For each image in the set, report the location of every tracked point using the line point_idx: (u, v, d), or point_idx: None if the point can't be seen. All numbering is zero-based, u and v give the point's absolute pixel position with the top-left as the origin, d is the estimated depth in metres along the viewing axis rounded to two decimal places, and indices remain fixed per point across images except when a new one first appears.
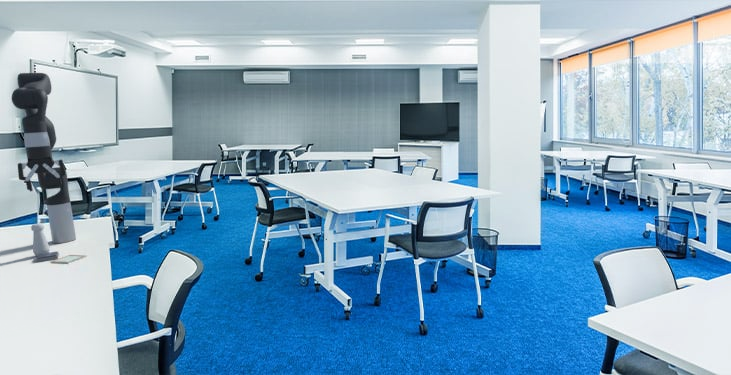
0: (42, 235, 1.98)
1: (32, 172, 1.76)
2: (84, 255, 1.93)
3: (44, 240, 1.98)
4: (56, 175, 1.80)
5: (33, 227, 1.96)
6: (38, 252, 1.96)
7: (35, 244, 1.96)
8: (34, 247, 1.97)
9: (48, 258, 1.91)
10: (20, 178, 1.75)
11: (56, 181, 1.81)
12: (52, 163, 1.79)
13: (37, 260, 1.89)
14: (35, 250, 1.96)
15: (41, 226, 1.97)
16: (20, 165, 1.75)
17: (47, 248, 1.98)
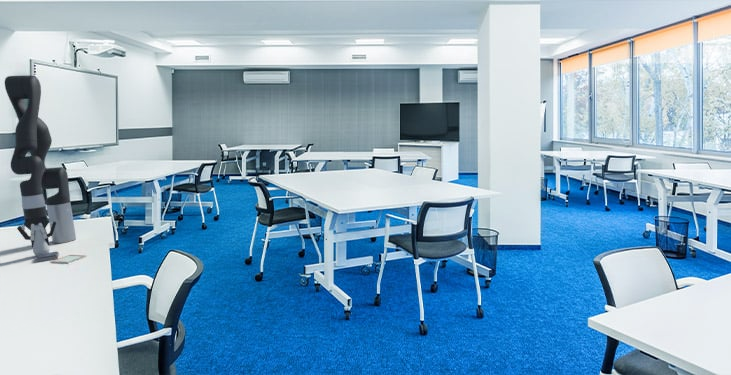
0: (42, 235, 1.98)
1: (32, 231, 1.96)
2: (84, 255, 1.93)
3: (44, 240, 1.98)
4: (44, 236, 1.98)
5: None
6: (38, 252, 1.96)
7: (35, 244, 1.96)
8: (34, 247, 1.97)
9: (48, 258, 1.91)
10: (26, 238, 1.95)
11: None
12: (47, 222, 1.98)
13: (37, 260, 1.89)
14: (35, 250, 1.96)
15: None
16: (19, 228, 1.94)
17: (47, 248, 1.98)
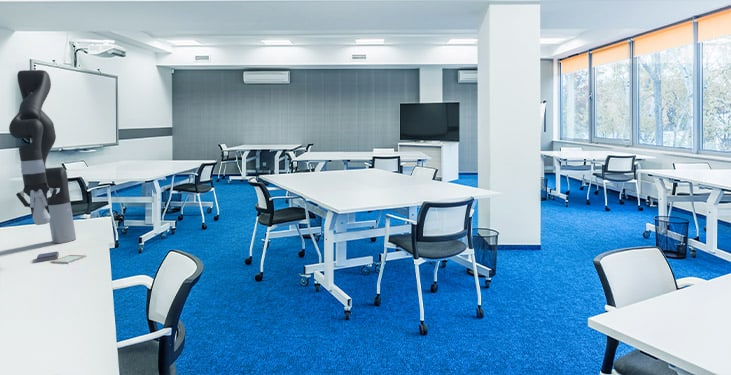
0: (42, 202, 1.90)
1: (32, 198, 1.88)
2: (84, 255, 1.93)
3: (44, 208, 1.91)
4: (44, 203, 1.91)
5: (33, 194, 1.88)
6: (38, 220, 1.89)
7: (35, 211, 1.89)
8: (34, 215, 1.89)
9: (48, 258, 1.91)
10: (25, 205, 1.88)
11: None
12: (47, 188, 1.91)
13: (37, 260, 1.89)
14: (35, 218, 1.89)
15: None
16: (19, 194, 1.86)
17: (47, 216, 1.91)
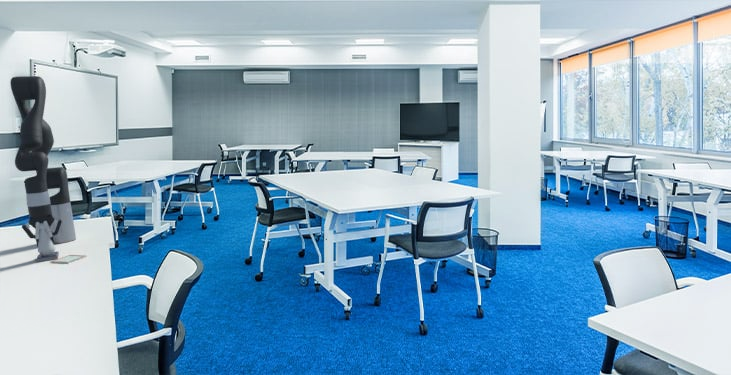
0: (47, 233, 1.92)
1: (37, 230, 1.90)
2: (84, 255, 1.93)
3: (49, 239, 1.92)
4: (49, 234, 1.92)
5: None
6: (43, 251, 1.91)
7: (40, 243, 1.91)
8: (39, 246, 1.91)
9: (48, 258, 1.91)
10: (31, 237, 1.90)
11: None
12: (52, 220, 1.93)
13: (37, 260, 1.89)
14: (40, 249, 1.91)
15: None
16: (24, 226, 1.88)
17: (52, 247, 1.93)
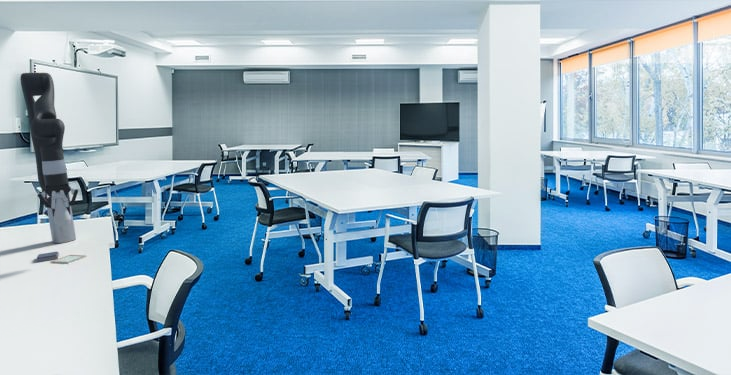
0: (63, 203, 1.87)
1: (53, 199, 1.85)
2: (84, 255, 1.93)
3: (65, 209, 1.87)
4: (65, 204, 1.87)
5: None
6: (59, 221, 1.85)
7: (56, 213, 1.85)
8: (55, 216, 1.85)
9: (48, 258, 1.91)
10: (47, 206, 1.84)
11: None
12: (68, 189, 1.87)
13: (37, 260, 1.89)
14: (56, 219, 1.85)
15: None
16: (40, 195, 1.83)
17: (68, 217, 1.87)
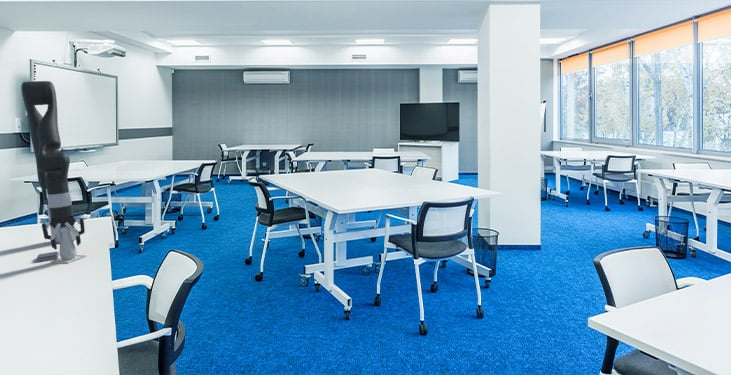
0: (69, 237, 1.89)
1: (56, 231, 1.86)
2: (84, 255, 1.93)
3: (71, 243, 1.89)
4: (76, 233, 1.90)
5: (60, 229, 1.87)
6: (65, 255, 1.88)
7: (62, 247, 1.87)
8: (61, 250, 1.88)
9: (48, 258, 1.91)
10: (45, 237, 1.85)
11: (76, 239, 1.90)
12: (73, 221, 1.89)
13: (37, 260, 1.89)
14: (62, 253, 1.87)
15: (68, 228, 1.88)
16: (44, 225, 1.84)
17: (74, 251, 1.90)
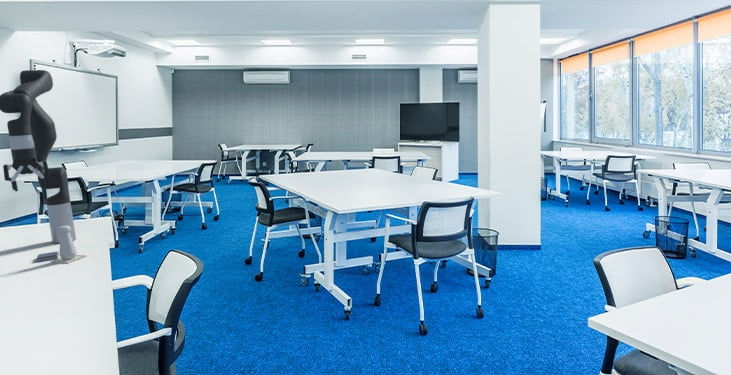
0: (69, 237, 1.89)
1: (17, 173, 1.85)
2: (84, 255, 1.93)
3: (71, 243, 1.89)
4: (40, 176, 1.89)
5: (60, 229, 1.87)
6: (65, 255, 1.88)
7: (62, 247, 1.87)
8: (61, 250, 1.88)
9: (48, 258, 1.91)
10: (6, 179, 1.84)
11: (40, 181, 1.90)
12: (36, 164, 1.88)
13: (37, 260, 1.89)
14: (62, 253, 1.87)
15: (68, 228, 1.88)
16: (6, 166, 1.84)
17: (74, 251, 1.90)
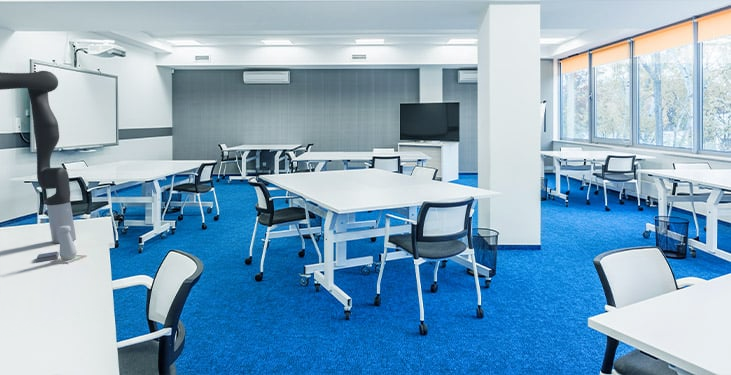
0: (69, 237, 1.89)
1: None
2: (84, 255, 1.93)
3: (71, 243, 1.89)
4: None
5: (60, 229, 1.87)
6: (65, 255, 1.88)
7: (62, 247, 1.87)
8: (61, 250, 1.88)
9: (48, 258, 1.91)
10: None
11: None
12: None
13: (37, 260, 1.89)
14: (62, 253, 1.87)
15: (68, 228, 1.88)
16: None
17: (74, 251, 1.90)
